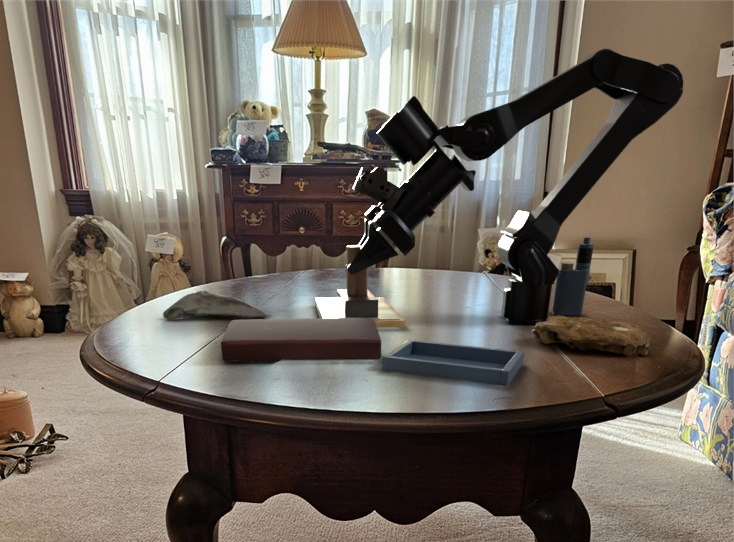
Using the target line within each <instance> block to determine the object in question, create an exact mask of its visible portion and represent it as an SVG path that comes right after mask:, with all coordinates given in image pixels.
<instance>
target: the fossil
mask: <svg viewBox="0 0 734 542" xmlns="http://www.w3.org/2000/svg"><path fill="white" fill-rule="evenodd" d="M217 315H218V316H219V315H225V316H226V315H231V316H240V317H241V316H242V317H251V318H252V317H253V318H266V317H267V314H266V313H265V312H264V311H263V310H262V309H260V308H258V307H256V306H255V305H252V304H251V303H249V302H247V301H244V300H242V299H241V298H240V299H239V298H236V297H232V296H228V295H222V294H218V293H215V292H211V291H208V290H198V291H196V292H192V293H187V294H186V295H184V296H182V297H181V298H179V299H178V300H177V301H175V302H174V303H173V304H172V305H170V306H169V307H168V308H167V309H166V310H164V311H163V313H162V318H163V319H165V320H177V319H181V318H182V319H183V318H188V317H207V316H208V317H209V316H217Z"/></svg>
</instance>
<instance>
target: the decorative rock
mask: <svg viewBox="0 0 734 542" xmlns="http://www.w3.org/2000/svg"><path fill="white" fill-rule="evenodd" d="M531 332H532V334H533V335H534V336H533V337H534V338H535V339H536V340H538V341H539V342H540V343H541V344H544V345H549V344H554V343H555V344H565V345H567V346H568V347H569V348H570V349H574V348H577V349H579V350H581V351H587V350H588V349H589V350H598V351H601V352H610V353H615V354H622V355H624V356H626V357H631V356H633V355H636V354H637V355H640V356H648V349H649V347H650V345H651V339H650V337H649V335H648V332H647V331H646V330H644V329H643V327H642V326H641V325H636V324H635V325H633V324H632V323H629V322H625V321H618V320H617V321H609V320H605V319H601V320H600V319H593V318H589V317H586V316H585V317H578V316H577V317H576V316H571V317H568V316H559V315H553V316H551V315H549V316H548V319H547V320H546V322H538V323H536V324H535V325H534V328H533V329H532V330H531Z"/></svg>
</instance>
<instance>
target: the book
mask: <svg viewBox="0 0 734 542" xmlns="http://www.w3.org/2000/svg"><path fill="white" fill-rule="evenodd" d="M222 336H223V337H222V338H221V342H220V349H221V358H222V361H224V362H248V363H249V362H252V363H254V362H256V363H257V362H258V363H259V362H263V363H265V362H266V363H267V362H268V363H269V362H270V363H271V362H272V363H278V362H280V361H331V360H333V361H334V360H340V361H341V360H342V361H344V360H346V361H349V360H351V361H352V360H353V361H355V360H359V361H360V360H361V361H363V360H367V361H368V360H371V361H372V360H375V361H377V360H381V359H382V338H381V336H380V333H379V329H378V328H377V327H376V324H375V322H374V320H373V318H320V317H319V318H317V317H316V318H270V319H269V318H263V319H262V318H261V319H259V318H257V319H255V318H254V319H233V320H231V321H230V322H229V323H228V325H227V328H226V330H225V332H224V334H223V335H222Z"/></svg>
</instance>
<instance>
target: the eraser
mask: <svg viewBox="0 0 734 542" xmlns="http://www.w3.org/2000/svg"><path fill="white" fill-rule="evenodd" d="M361 247H362V245H359V244H351V245H350V244H349V245H347V246H346V264H347V268H348V266H349V265H350V263H351V262H352V260H353V259H354V257H355V256H356V254H357V253H358V251H359V250H360V248H361ZM347 268H346V288H345V289H337V291H336V298H337V305H338V307H339V308H340V310H341V312H342V313H343V315H344V317H345V318H355V317H378V299H377V298H376V297H377V296H375V295H374V294H373V292H371V291H370V290H369V289H368V285H369V284H368V282H369V281H368V280H369V279H368V277H369V276H368V273H369V267H368V268H366V269H363V270H361V271H359V272H357V273H354V274H350V273H349V272H348V270H347Z"/></svg>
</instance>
